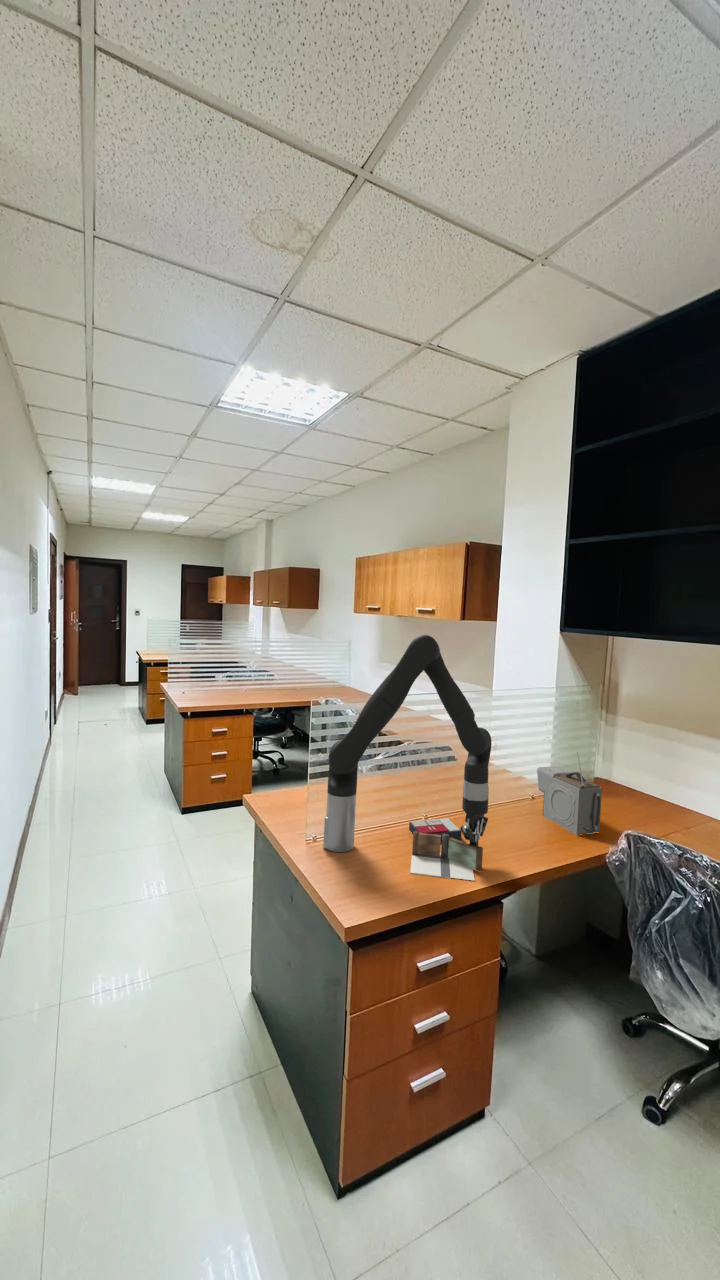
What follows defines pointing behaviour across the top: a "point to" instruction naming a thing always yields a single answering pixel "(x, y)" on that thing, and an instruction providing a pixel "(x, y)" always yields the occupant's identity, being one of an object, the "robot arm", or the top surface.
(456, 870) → the card
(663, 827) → the top surface
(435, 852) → the fence fixed section
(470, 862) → the panel
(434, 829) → the calculator
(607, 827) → the top surface
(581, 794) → the portable television
